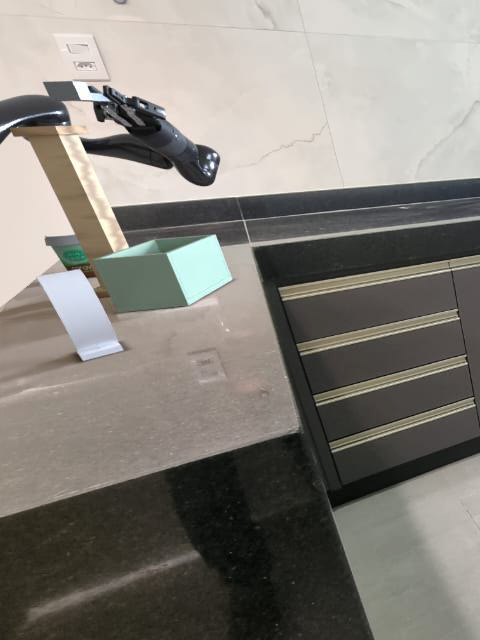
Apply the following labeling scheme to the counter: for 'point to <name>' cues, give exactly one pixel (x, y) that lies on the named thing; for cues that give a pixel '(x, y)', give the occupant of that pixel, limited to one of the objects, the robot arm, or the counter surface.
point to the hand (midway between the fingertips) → (97, 89)
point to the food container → (70, 253)
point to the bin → (163, 272)
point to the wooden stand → (77, 190)
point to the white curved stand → (81, 313)
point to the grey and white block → (72, 92)
